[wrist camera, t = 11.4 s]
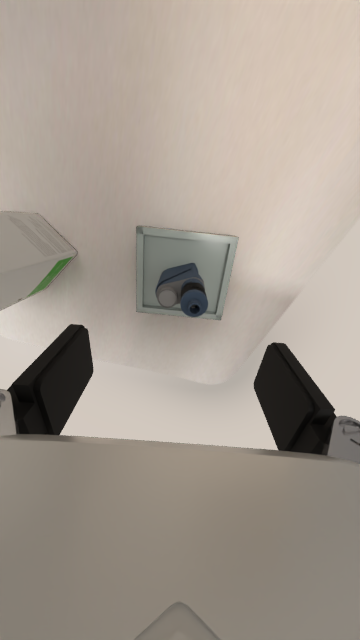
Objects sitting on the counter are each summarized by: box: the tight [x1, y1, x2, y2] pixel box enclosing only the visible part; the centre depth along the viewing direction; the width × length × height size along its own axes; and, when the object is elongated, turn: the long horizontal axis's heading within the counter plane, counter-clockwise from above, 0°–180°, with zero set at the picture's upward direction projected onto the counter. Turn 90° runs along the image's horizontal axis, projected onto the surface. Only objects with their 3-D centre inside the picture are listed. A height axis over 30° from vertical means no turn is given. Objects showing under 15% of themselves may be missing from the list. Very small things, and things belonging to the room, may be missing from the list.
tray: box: [136, 226, 239, 320], centre depth 27 cm, size 11×12×2 cm
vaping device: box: [155, 263, 208, 317], centre depth 22 cm, size 3×5×12 cm, turn 104°
